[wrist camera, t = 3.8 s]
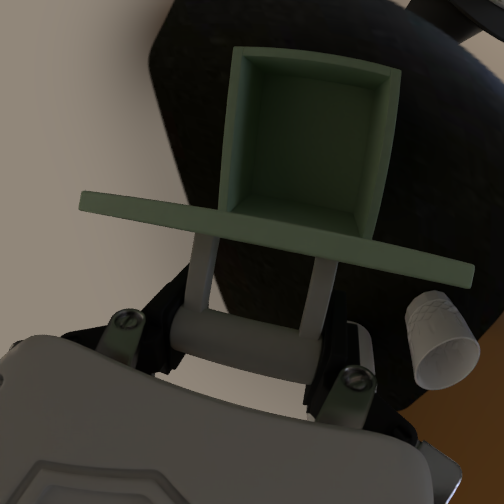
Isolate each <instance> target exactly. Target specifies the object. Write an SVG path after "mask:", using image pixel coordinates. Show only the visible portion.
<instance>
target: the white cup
mask: <svg viewBox="0 0 504 504" xmlns="http://www.w3.org/2000/svg"><path fill="white" fill-rule="evenodd" d="M405 321H406V325H407V331H408V341H409V347H410V353H411V358H412V364H413V371H414V377H415V381H416V383H417V384H418V385H419V386H420V387H422V388H424V389H428V390H439V389H444V388H447V387H450V386H452V385H454V384H456V383H458V382H459V381H461V380H462V379H464V378H465V377H466V376H467V375H468V374H469V373H470V372H471V371H472V370H473V369H474V367H475V366H476V364H477V362H478V359H479V356H480V347H479V344H478V342H477V341H476V339H475V337H474V335H473V334H472V332H471V330H470V329H469V327H468V325H467V324H466V322H465V320H464V319H463V317H462V316H461V314H460V313H459V311H458V310H457V308H456V307H455V306H454V305H453V303H452V302H451V300H450V299H449V298H448V297H447V296H446V295H445V293H443V292H439V291H436V290H433V291H428V292H424V293H422V294H421V295H419V296H417V297H416V298H414V299H413V301H412V302H411V303H410V305H409V306H408V307H407V311H406V315H405Z"/></svg>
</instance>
